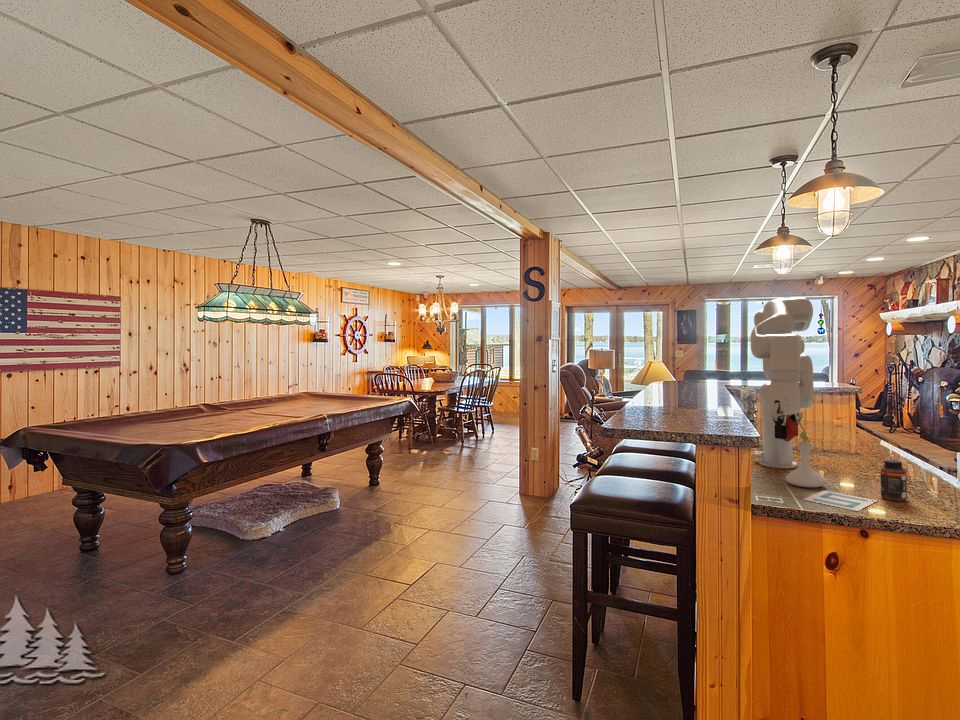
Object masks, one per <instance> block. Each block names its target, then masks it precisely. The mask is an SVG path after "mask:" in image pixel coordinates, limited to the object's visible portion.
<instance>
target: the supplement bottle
mask: <svg viewBox="0 0 960 720" xmlns="http://www.w3.org/2000/svg"><path fill="white" fill-rule="evenodd" d="M907 476H908V475H907V470H906V469H905V468H904V467H903V462H902V461H901V460H897V459H885V460H884V462H883V466H882V467H881V468H880V496H881V498H883V499H884V500H887V501H891V502H892V501H893V502H906V501H907V500H908V499H907V498H908V485H907V483H908V481H907V479H908V478H907Z"/></svg>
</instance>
